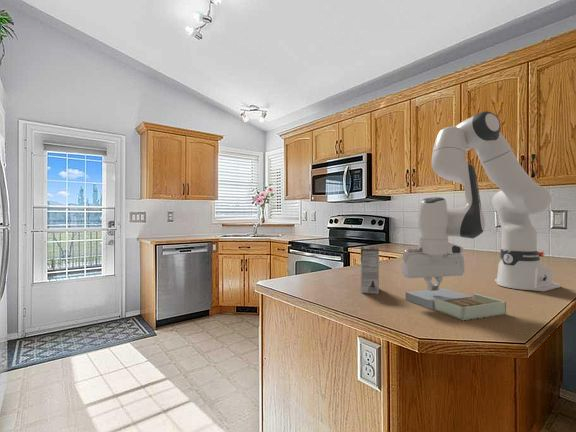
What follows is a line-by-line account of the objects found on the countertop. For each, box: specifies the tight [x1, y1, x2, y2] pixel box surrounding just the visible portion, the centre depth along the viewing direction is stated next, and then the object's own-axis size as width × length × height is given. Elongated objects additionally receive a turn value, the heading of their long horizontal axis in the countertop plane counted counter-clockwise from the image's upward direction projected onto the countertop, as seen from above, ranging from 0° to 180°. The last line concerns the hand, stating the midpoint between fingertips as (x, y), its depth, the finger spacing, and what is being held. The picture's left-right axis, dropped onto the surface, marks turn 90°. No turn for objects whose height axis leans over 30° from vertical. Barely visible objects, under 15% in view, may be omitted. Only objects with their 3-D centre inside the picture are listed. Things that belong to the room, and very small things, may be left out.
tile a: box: [459, 298, 486, 306], centre depth 97 cm, size 5×5×2 cm
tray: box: [433, 293, 507, 322], centre depth 94 cm, size 16×10×4 cm, turn 110°
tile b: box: [446, 300, 470, 307], centre depth 95 cm, size 5×5×2 cm
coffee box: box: [360, 246, 380, 295], centre depth 120 cm, size 9×6×16 cm
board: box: [405, 287, 473, 311], centre depth 105 cm, size 16×12×2 cm
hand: (433, 290), depth 104 cm, fingers closed
